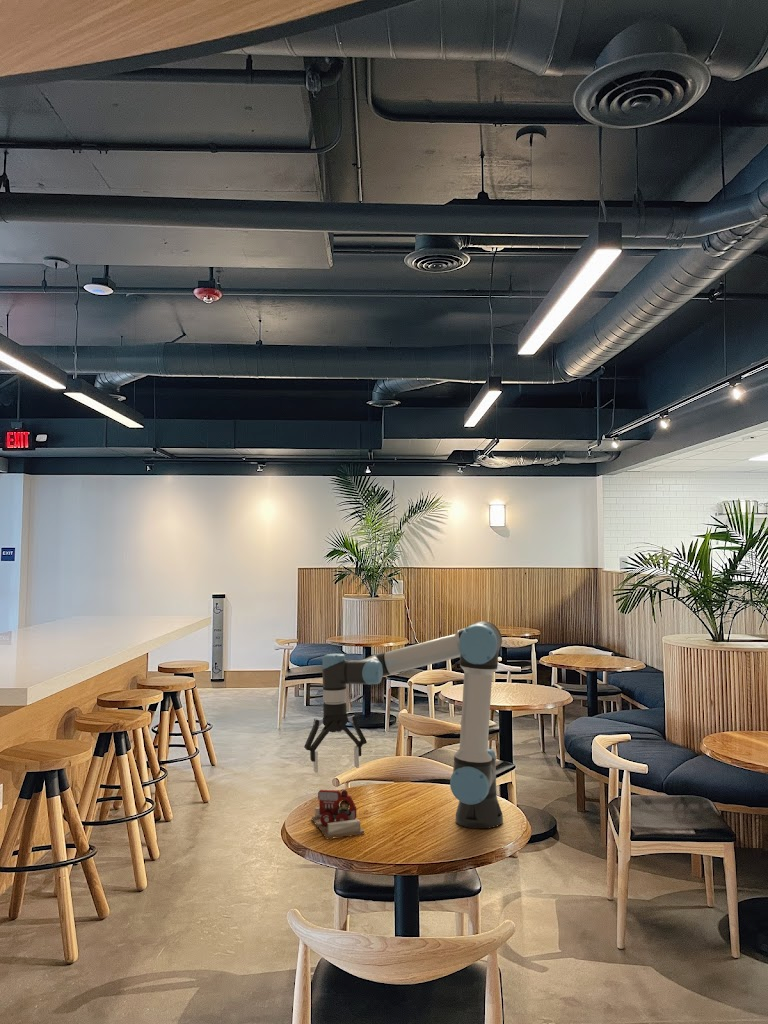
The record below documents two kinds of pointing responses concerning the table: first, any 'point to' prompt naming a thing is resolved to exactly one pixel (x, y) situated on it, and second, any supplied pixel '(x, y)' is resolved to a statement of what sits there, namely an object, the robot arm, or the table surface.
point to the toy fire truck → (335, 806)
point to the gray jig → (338, 826)
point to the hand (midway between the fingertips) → (336, 769)
